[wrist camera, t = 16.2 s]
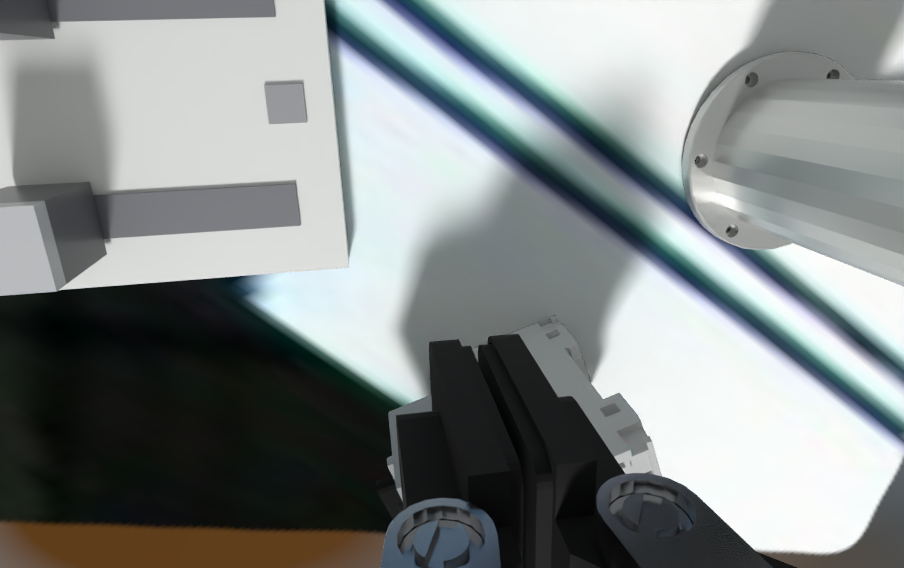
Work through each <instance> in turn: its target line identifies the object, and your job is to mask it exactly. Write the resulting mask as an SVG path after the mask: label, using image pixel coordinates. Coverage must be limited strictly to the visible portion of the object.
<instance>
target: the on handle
mask: <svg viewBox="0 0 904 568" xmlns="http://www.w3.org/2000/svg"><path fill="white" fill-rule="evenodd" d="M105 255H107V252H106V247H105V243H104V239H103V235H102V230H101V226H100V222H99V218H98V214H97V209H96V205H95V201H94V197H93V192H92V188H91V184H90V182H77V183H59V184H41V185H22V186H7V187H4V188H1V189H0V296H3V295H16V294H29V293H42V292H55V291H58V290H59V289H61V288H62V287H63V286H65V285H66V284H67V283H69V282H70V281H71V280H73V279H74V278H76V277H77V276H78V275H80V274H81V273H82V272H84V271H85V270H86V269H88V268H89V267H90V266H92V265H93V264H95V263H96V262H97V261H99V260H100V259H101V258H103V257H104V256H105Z"/></svg>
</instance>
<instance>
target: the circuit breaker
mask: <svg viewBox="0 0 904 568" xmlns="http://www.w3.org/2000/svg"><path fill="white" fill-rule="evenodd" d="M549 318H550V321H551V322H550V323H547V324H545V325H542V326H540V325H539V324H538V322H536V323H534V324H532V325H529V326H527V327H524V328H522V329H519V330H517V331H514V332H512V333H509V334H519V335H520V337H521V338H522V340H523V342H524V343H525V345H526V346H527V348H528V350H529V351H530V353H531V354H532V356H533V358H534V359H535V361H536V362H537V364H538V366H539V367H540V369H541V370H542V372H543V374H544V375H545V377H546V378H547V380H548V382H549V383H550V385H551V386H552V388H553V390H554V391H555V393H556V394H557V396H558V397H564V396H572V397H573V398H574V399H575V400H576V401H577V402H578V404H579V405H580V407H581V408H582V410H583V411H584V413H585V414H586V416H587V417H588V419H589V420H590V422H591V423H592V425H593V426H594V428H595V429H596V431H597V432H598V434H599V435H600V437H601V438H602V440H603V441H604V443H605V444H606V446H607V447H608V449H609V450H610V452H611V453H612V454H613V456H614V457H615V459H616V460H617V462H618V463H619V465H620V466H621V468H622V469H623V471H624V472H625V474H630V473H646V474H654V475H658V476H662V475H661V471H660V468H659V464H658V461H657V457H656V454H655V450H654V447H653V443H652V440H651V439H650V437H649V436H647V434H646V433H645V431H644V429H643V427H642V423H641V421H640V419H639V417H638V415H637V414H636V413H635V411H634V410H633V409H632V408H631V406H630V405H629V404H628V403H627V402H626V400H625V399H624V398H623V397H622V396H621V394H620V393H618V394H615V395H613V396H610V397H608V398H605V399H602V397H601V396H600V395H599V393H598V392H597V391H596V389H595V388H594V387H593V385H592V384H591V382H590V378H589V375H588V372H587V369H586V366H585V363H584V360H583V356H582V353H581V350H580V347H579V344H578V342H577V341H576V340H575V338H574V337H573V336H572V335H571V334H570V332H569V331H568V330H567V329H566V328H565V326H564V325H563V324H560V323H559V322H558V319H557V317H556V315H554V316H551V317H549ZM509 334H507V335H509ZM555 335H556V336H555ZM553 336H554V337H553ZM487 343H488V342H487ZM487 343H484V344H487ZM484 344H482V345H484ZM472 350H473V352H474V354H475V357H476V359H477V361H478V346H477V347H474V348H472ZM427 411H432V400H431V395H429V396H427V397H424V398H422V399H420V400H417V401H415V402H412V403H410V404H407V405H405V406H402V407H400V408H397V409H395V410H393V411H390V412H389V413H388V414H389V425H390V435H391V446H392V456H390V457H388V458H387V466H388V468H389V470H390V472H391V474H392V475H391V476H388V477H386V478H383V479H381V480H378V481H376V488H377V491H378V494H379V496H380V498H381V499H382V501H383V503H384V504H385V506H386V508H387V510H388V511H389V513H390V515H391V517H392V519H393V520H394V519H395V517H396V516H397V515H398V514H399V513H400V512H402V511H403V510H404V509H403V500H402V490H401V479H400V468H399V456H398V443H397V429H396V415H400V414H409V413H418V412H427Z"/></svg>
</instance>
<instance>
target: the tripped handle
mask: <svg viewBox="0 0 904 568" xmlns="http://www.w3.org/2000/svg"><path fill="white" fill-rule="evenodd" d="M36 39H55V36H54V31H53V27H52V23H51V19H50V15H49V10H48V6H47V2H46V0H0V40H36Z"/></svg>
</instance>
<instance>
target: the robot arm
mask: <svg viewBox="0 0 904 568" xmlns="http://www.w3.org/2000/svg"><path fill="white" fill-rule="evenodd" d="M745 79H746V81H745ZM696 157H697V160H696V162H695V159H696ZM682 180H683V186H684V191H685V195H686V199H687V201H688V204H689V206H690V208H691V210H692V212H693V214H694V216H695V217H696V218H697V220H698V221H699V222H700V223H701V225H702V226H703V227H704V228H705V229H706V230H708V231H709V232H710V233H711V234H713V235H714V236H715V237H717V238H719V239H721V240H723V241H725V242H727V243H729V244H732V245H735V246H738V247H741V248H746V249H754V250H765V249H775V248H779V247H782V246H786V245H790V244H792V243H794V244H797V245H799V246H802V247H804V248H807V249H810V250H812V251H815V252H817V253H820V254H822V255H825V256H827V257H830V258H833V259H835V260H838V261H840V262H843V263H845V264H848V265H850V266H853V267H855V268H858V269H861V270H863V271H866V272H868V273H871V274H873V275H876V276H878V277H881V278H884V279H886V280H889V281H891V282H894V283H896V284H899V285H901V286H904V80H855V79H854V78H853V77H852V76H851V75H850V74H849V73H848V72H847V71H846V70H845V69H844V68H843V67H842V66H840V65H839V64H837V63H836V62H834V61H833V60H831V59H829V58H827V57H824V56H821V55H818V54H815V53H806V52H783V53H775V54H771V55H767V56H763V57H760V58H758V59H756V60H753V61H751V62H749V63H747V64H745V65H743V66H741V67H740V68H739V69H737V70H736V71H734V72H733V73H731V74H730V75H729V76H727V77H726V78H725V79H724V80H723V81H722V82H721V83H720V84H719V85H718V86H717V87H716V88H715V89H714V90H713V91H712V92H711V93H710V95H709V96H708V98H707V99H706V100H705V102H704V103H703V105H702V106H701V107H700V109H699V111H698V113H697V115H696V117H695V119H694V121H693V123H692V125H691V127H690V130H689V133H688V136H687V139H686V143H685V146H684V153H683V160H682ZM429 360H430V380H431V400H432V411H427V412H418V413H409V414H400V415H396V429H397V443H398V456H399V468H400V479H401V490H402V500H403V509H404V510H403V511H402V512H400V513H399V514H398V515H397V516H396V517H395V519H394V520H393V521H392V522H391V523H390V525H389V527H388V530H387V533H386V536H385V541H384V548H383V555H382V562H381V568H797V567H794V566H791V565H789V564H786V563H784V562H781V561H779V560H776V559H774V558H771V557H769V556H766V555H763V554H761V553H758V552H756V551H755V550H754V549H753V548H752V547H751V546H750V545H748V544H747V543H746V542H745V541H744V540H743V539H742V538H741V537H740V536H739V535H738V534H737V533H736V532H735V531H734V530H733V529H732V528H731V527H730V526H729V525H727V524H726V523H725V522H724V521H723V520H722V519H721V518H720V517H719V516H718V515H717V514H716V513H715V512H714V511H713V510H712V509H711V508H710V507H709V506H707V505H706V504H705V503H704V502H703V501H702V500H701V499H700V498H699V497H698V496H697V495H696V494H694V493H693V492H692V491H690V490H689V489H688V488H686V487H685V486H684V485H682V484H680V483H677V482H675V481H673V480H671V479H669V478H665V477H662V476H658V475H654V474H646V473H630V474H625V472H624V471H623V469H622V468H621V466H620V465H619V463H618V462H617V460H616V459H615V457H614V456H613V454H612V453H611V452H610V450H609V449H608V447H607V446H606V444H605V443H604V441H603V440H602V438H601V437H600V435H599V434H598V432H597V431H596V429H595V428H594V426H593V425H592V423H591V422H590V420H589V419H588V417H587V416H586V414H585V413H584V411H583V410H582V408H581V407H580V405H579V404H578V402H577V401H576V400H575V399H574V398H573V397H572V396H564V397H558V396H557V394H556V393H555V391H554V390H553V388H552V386H551V385H550V383H549V382H548V380H547V378H546V377H545V375H544V374H543V372H542V370H541V369H540V367H539V366H538V364H537V362H536V361H535V359H534V358H533V356H532V354H531V353H530V351H529V350H528V348H527V346H526V345H525V343H524V342H523V340H522V338H521V337H520V335H519V334H509V335H499V336H490V337H489V338H488V343H487V344H484V345H479V346H478V361H477V359H476V357H475V354H474V352H473V350H472V347H471V346H464V347H462V346H461V343H460V341H459V339H457V340H446V341H435V342H429Z"/></svg>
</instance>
